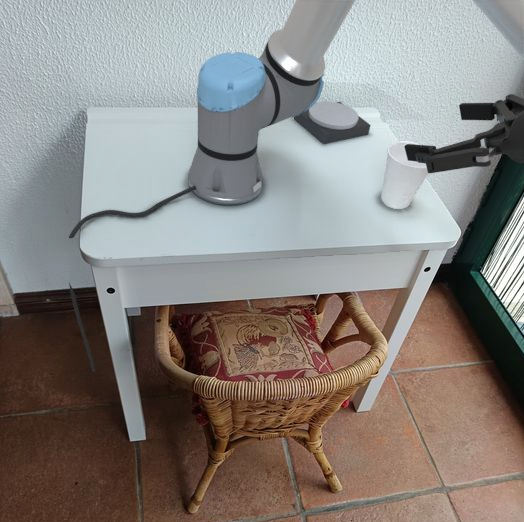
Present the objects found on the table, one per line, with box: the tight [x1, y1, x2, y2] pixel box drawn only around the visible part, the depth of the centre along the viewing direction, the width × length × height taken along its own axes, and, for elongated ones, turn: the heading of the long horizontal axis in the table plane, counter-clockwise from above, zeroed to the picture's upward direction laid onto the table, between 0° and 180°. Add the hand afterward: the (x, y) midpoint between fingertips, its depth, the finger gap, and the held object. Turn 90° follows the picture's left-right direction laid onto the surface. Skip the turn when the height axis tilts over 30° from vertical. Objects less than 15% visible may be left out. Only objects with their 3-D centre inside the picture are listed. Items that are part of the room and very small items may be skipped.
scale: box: [293, 100, 371, 145], centre depth 122 cm, size 14×13×3 cm
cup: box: [380, 140, 429, 210], centre depth 100 cm, size 10×10×11 cm
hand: (434, 131), depth 87 cm, fingers open, 13 cm apart
